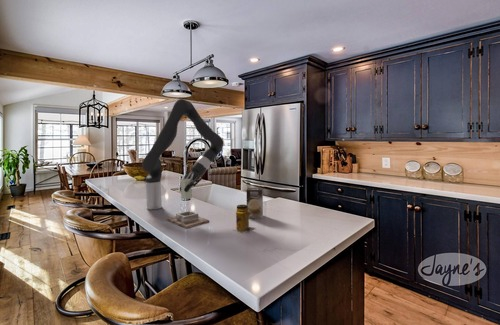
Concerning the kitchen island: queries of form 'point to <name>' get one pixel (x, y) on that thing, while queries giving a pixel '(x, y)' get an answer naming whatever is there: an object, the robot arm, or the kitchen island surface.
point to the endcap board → (187, 219)
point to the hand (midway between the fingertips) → (183, 190)
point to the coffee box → (255, 202)
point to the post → (183, 184)
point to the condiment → (242, 219)
